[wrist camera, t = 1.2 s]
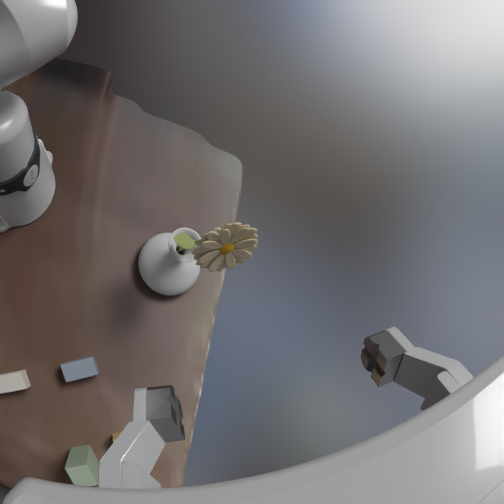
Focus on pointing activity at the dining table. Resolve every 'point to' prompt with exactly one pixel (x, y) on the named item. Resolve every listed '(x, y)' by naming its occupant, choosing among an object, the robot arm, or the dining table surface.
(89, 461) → the green brick
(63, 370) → the slate brick
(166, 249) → the flower in vase
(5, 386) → the cream brick
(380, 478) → the robot arm
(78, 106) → the dining table surface
